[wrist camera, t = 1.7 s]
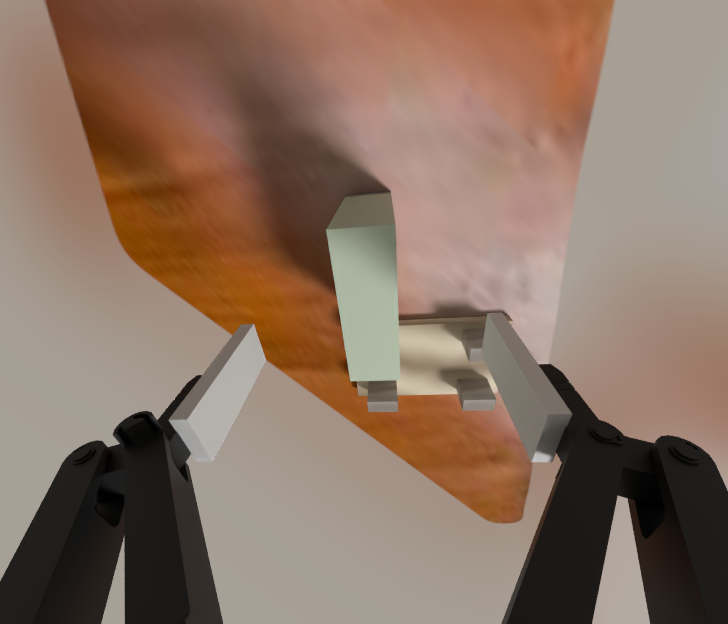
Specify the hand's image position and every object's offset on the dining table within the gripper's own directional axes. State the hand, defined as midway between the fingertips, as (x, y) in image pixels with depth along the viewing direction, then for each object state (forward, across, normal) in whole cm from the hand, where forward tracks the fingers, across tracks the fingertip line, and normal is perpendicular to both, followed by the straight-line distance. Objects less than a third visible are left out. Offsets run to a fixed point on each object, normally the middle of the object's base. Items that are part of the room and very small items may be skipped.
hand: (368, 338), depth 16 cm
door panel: (+12, 0, +1) cm, 12 cm away
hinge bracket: (+12, +5, -11) cm, 17 cm away
